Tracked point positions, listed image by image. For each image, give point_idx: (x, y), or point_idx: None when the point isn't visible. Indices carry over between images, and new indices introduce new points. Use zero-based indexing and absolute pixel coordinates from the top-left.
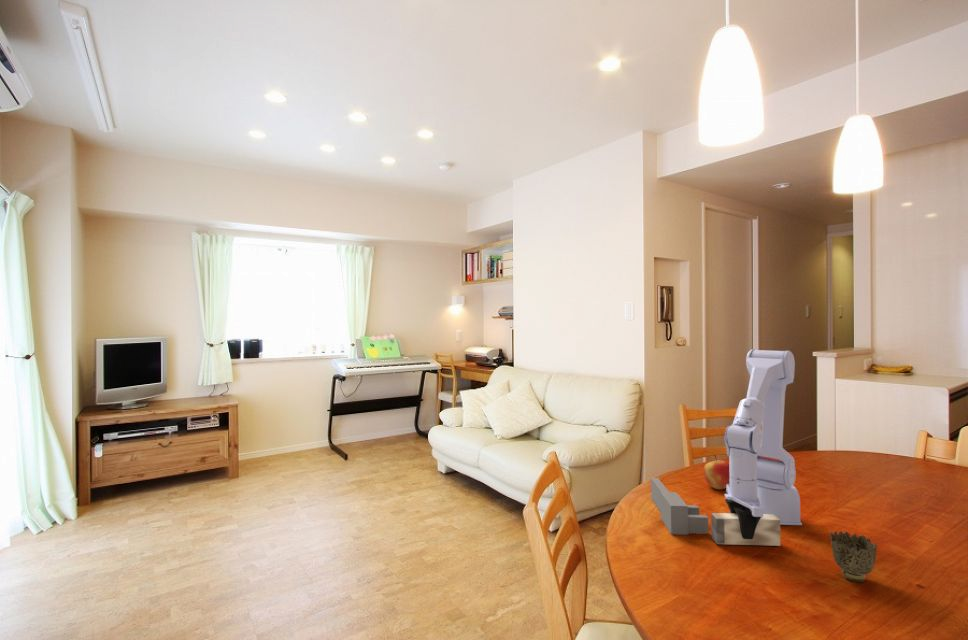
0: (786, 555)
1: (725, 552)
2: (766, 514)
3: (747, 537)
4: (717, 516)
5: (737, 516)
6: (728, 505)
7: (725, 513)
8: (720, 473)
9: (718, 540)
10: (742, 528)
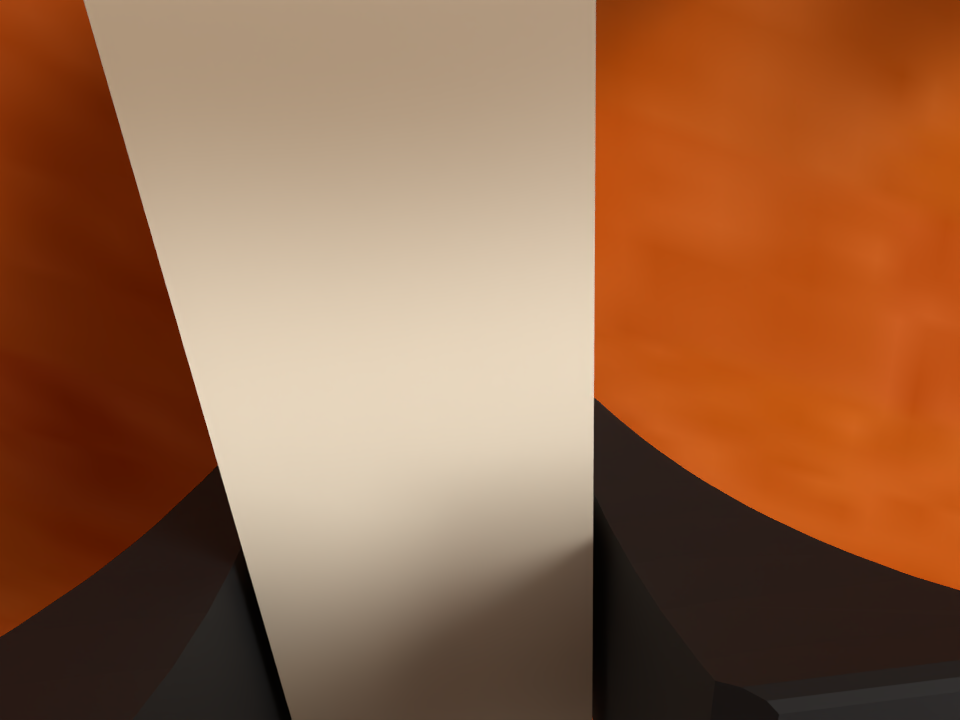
0: None
1: (18, 14)
2: None
3: None
4: (275, 24)
5: (403, 584)
6: (814, 595)
7: (581, 363)
8: None
9: None
10: (192, 496)
